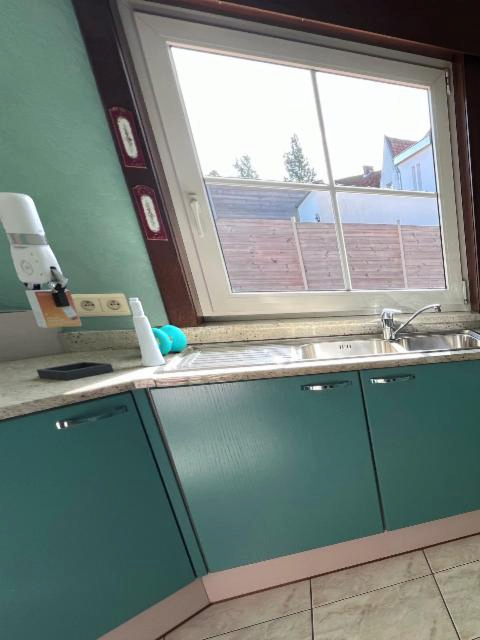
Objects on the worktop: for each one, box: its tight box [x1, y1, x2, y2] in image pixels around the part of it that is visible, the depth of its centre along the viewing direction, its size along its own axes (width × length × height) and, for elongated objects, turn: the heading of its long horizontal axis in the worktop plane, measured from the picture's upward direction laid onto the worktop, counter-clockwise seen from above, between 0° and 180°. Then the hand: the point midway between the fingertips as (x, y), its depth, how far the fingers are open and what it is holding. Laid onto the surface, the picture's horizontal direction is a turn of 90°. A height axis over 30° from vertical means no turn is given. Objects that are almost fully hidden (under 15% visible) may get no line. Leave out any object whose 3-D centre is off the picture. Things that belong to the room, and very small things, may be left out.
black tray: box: [36, 361, 114, 381], centre depth 153 cm, size 11×13×3 cm
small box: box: [24, 289, 83, 329], centre depth 147 cm, size 8×6×10 cm
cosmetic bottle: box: [128, 297, 167, 367], centre depth 164 cm, size 6×6×22 cm
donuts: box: [151, 324, 188, 356], centre depth 184 cm, size 10×10×10 cm
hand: (53, 305), depth 146 cm, fingers closed on small box, 6 cm apart
